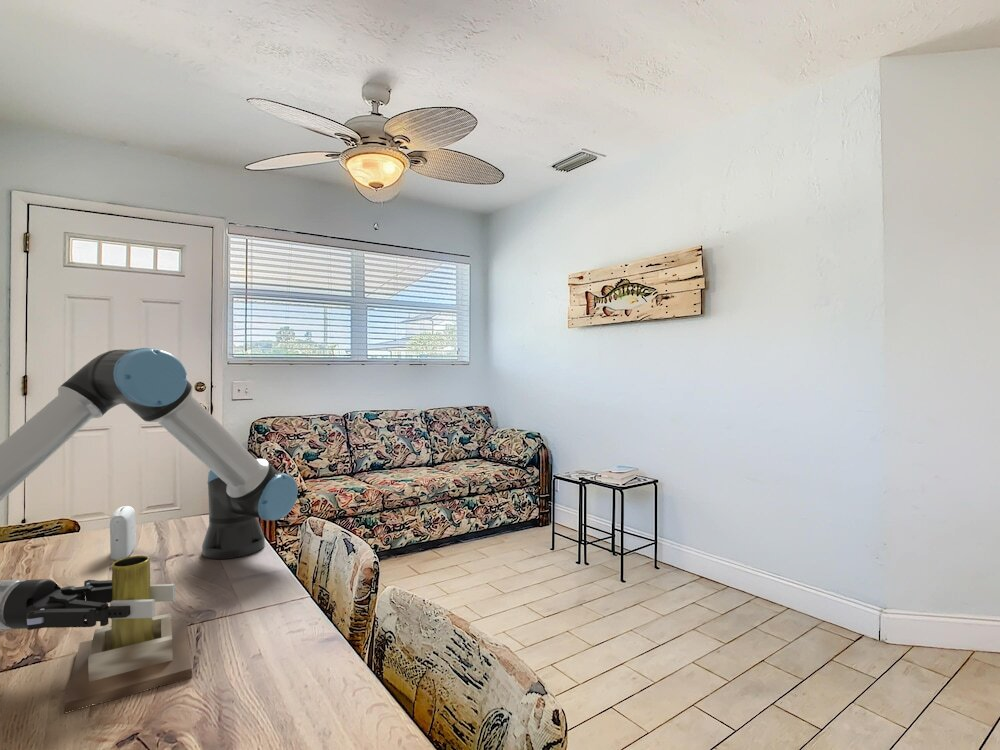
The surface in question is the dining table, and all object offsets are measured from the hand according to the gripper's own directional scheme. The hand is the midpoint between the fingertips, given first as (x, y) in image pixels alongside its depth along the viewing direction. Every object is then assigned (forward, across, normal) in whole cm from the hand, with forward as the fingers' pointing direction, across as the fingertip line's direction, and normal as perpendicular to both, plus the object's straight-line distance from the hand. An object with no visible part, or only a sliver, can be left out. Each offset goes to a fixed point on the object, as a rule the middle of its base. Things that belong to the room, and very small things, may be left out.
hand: (163, 600), depth 90 cm
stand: (-5, 0, -11) cm, 12 cm away
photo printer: (-41, -54, -11) cm, 69 cm away
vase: (-5, 0, -8) cm, 9 cm away
